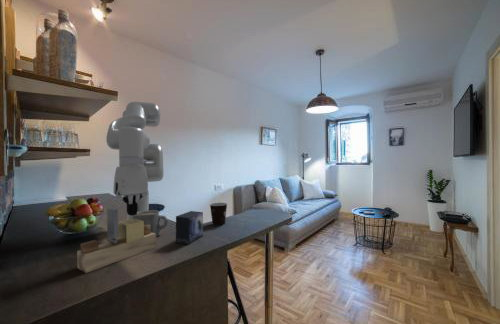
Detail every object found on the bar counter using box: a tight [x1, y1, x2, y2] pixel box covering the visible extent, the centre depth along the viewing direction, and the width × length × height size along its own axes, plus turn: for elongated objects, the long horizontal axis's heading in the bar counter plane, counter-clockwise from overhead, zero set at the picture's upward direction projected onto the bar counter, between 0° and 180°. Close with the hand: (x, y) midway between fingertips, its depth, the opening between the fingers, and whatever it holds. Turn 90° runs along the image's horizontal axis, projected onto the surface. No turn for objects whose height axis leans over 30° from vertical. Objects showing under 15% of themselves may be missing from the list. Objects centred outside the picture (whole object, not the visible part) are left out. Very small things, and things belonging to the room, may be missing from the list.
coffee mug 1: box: [133, 209, 169, 237], centre depth 93 cm, size 13×10×10 cm
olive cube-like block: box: [116, 218, 144, 243], centre depth 74 cm, size 7×6×6 cm
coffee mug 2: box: [209, 202, 228, 226], centre depth 108 cm, size 12×9×10 cm
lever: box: [106, 207, 119, 244], centre depth 70 cm, size 5×1×11 cm, turn 58°
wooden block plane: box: [76, 225, 157, 274], centre depth 72 cm, size 6×22×8 cm, turn 148°
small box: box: [175, 210, 204, 245], centre depth 87 cm, size 11×6×10 cm, turn 161°
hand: (132, 214), depth 75 cm, fingers closed
